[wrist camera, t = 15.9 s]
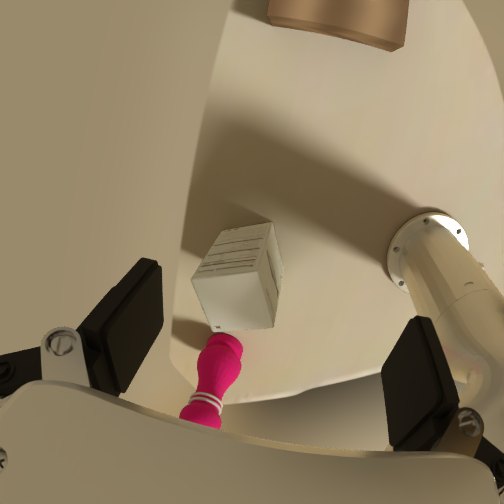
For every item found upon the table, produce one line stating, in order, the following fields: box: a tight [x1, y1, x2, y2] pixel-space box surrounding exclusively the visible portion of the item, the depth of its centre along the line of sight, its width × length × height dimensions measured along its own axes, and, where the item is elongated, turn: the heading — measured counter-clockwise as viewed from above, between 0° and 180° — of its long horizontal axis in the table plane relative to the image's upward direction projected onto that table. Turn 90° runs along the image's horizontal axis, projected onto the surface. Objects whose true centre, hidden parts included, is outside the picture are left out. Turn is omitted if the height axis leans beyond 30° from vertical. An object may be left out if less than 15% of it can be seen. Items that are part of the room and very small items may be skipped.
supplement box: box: [191, 222, 284, 332], centre depth 37 cm, size 7×7×13 cm
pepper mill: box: [179, 334, 243, 429], centre depth 43 cm, size 7×7×20 cm
